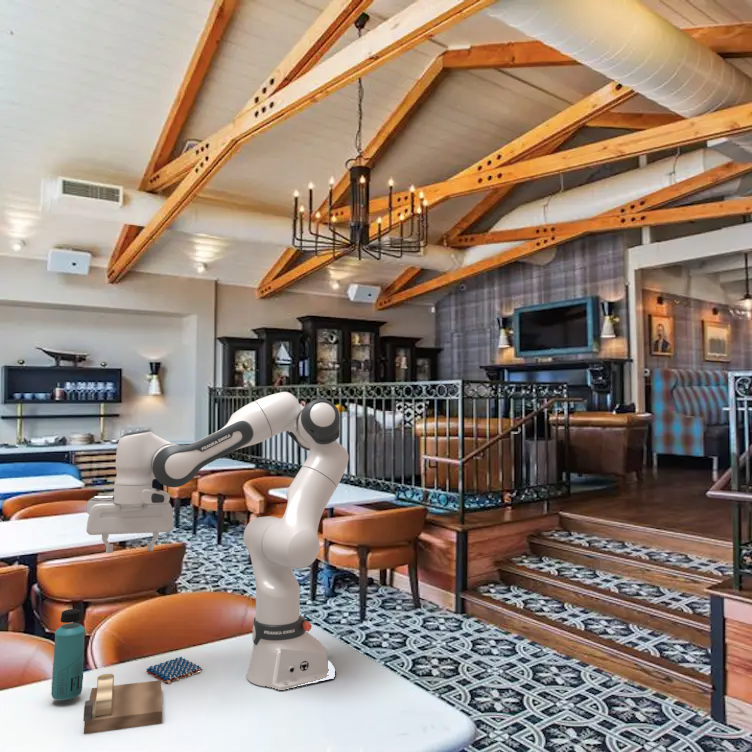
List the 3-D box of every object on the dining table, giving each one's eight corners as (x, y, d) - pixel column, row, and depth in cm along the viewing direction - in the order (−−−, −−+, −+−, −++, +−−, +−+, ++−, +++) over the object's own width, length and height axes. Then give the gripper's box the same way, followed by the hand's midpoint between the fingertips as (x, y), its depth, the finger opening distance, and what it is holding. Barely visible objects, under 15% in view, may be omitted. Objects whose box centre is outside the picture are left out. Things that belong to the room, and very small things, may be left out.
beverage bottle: (69, 709, 135) (74, 616, 136) (42, 705, 136) (48, 613, 138) (88, 696, 142) (93, 607, 143) (63, 692, 143) (68, 605, 144)
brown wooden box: (160, 691, 145) (161, 667, 145) (161, 723, 130) (163, 696, 130) (90, 699, 140) (91, 674, 140) (82, 734, 125) (84, 706, 125)
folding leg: (97, 688, 139) (97, 674, 139) (113, 686, 141) (114, 673, 141) (94, 716, 127) (95, 701, 127) (112, 713, 128) (112, 698, 128)
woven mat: (204, 674, 156) (204, 666, 156) (166, 687, 148) (167, 678, 148) (181, 662, 163) (181, 654, 163) (144, 674, 155) (144, 666, 155)
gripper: (85, 497, 147) (82, 556, 146) (175, 496, 154) (172, 552, 153) (88, 494, 153) (85, 550, 152) (174, 493, 160) (172, 546, 159)
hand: (129, 551), depth 153 cm, fingers open, 8 cm apart
